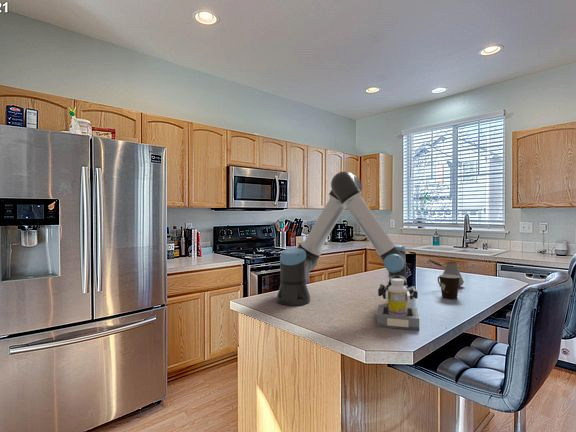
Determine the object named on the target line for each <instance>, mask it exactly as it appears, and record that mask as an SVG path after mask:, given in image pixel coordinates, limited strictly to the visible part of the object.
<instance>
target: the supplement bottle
mask: <svg viewBox="0 0 576 432" xmlns="http://www.w3.org/2000/svg"><path fill="white" fill-rule="evenodd" d="M387 304H388V312H389V314H390V315H401V316H406V315H407V307H408V302H407V288H406V287H405V286H404V279H399V278H393V279H391V286H389V288H388V302H387Z"/></svg>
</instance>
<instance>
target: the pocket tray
mask: <svg viewBox="0 0 576 432" xmlns="http://www.w3.org/2000/svg"><path fill="white" fill-rule="evenodd" d="M376 327H379V328H391V329H401V330H410V331H411V330H413V331H420V315H419V310H418V307H413V306H407V315H406V316H401V315H390V314H389V312H388V305H386V304H378V307H377V312H376Z"/></svg>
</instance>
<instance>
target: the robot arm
mask: <svg viewBox="0 0 576 432" xmlns="http://www.w3.org/2000/svg"><path fill="white" fill-rule="evenodd" d="M330 188H331V189H330V192H329V193H328V197H329V199H328V201H327V203H326V204H325V206H324V207H323V209H322V211H321V212H320V215H319V216H318V218H317V220H316V221H315V223H314V224H313V226H312V228H311V229H310V231H309V233H308V234H307V236H306V239H305V240H301V241H300V242H299V244H298V245H297V247H293V248H286V249H284V250H282V251H281V252H280V255H279V256H280V257H279V262H280V263H279V266H280V267H279V269H280V271H279V272H280V275H279V276H280V286H279V288H278V292H277V295H276V302H277V303H278V304H280V305H283V306H303V305H306V304H309V303H310V302H311V296H310V292H309V289H308V286H307V273H309V272H312V271H313V270H314V269H315V267H317V265H318V260H319V258H320V257H321V255H322V252H321V249H322V247H323V246H324V244H325V243H326V240H327V239H328V238H329V236H330V234H331V233H332V231H333V229H334V228H335V226H336V224H337V222H338V221H339V219H340V218H341V216H342V214H343V213H344V211H345V209H346V208H347V210H348V212H349V213H350V214H351V215H352V217H353V219H354V220H355V222H356V223H357V225H358V227H359V228H360V229H361V231H362V232H363V233H364V235H365V237H366V238H367V240H368V241H369V242H370V244H371V245H372V247H373V248H374V250H375V251H376V253H377V254H378V256H379V258H380V259H381V261H382V263H383V265H384V268H385V269H386V271H388V281H387V283H388V284H387V285H385V284H382V283H380V284H379V288H378V289H377V294H378V295H377V296H378V297H382V298H383V300H385V303H388V288H389V286H391V279H393V278H399V279H404V286H405V287H406V288H407V304H410V303H411V300H413V299H418V298H419V297H418V296H419V295H418V290H417V288H416V286H415V285H413V286H410V287H409V285H408V282H407V268H406V267H407V265H406V264H407V263H406V262H407V261H406V260H407V259H406V257H407V256H406V253H407V252H406V246H404V245H403V244H402V245H401V244H394V242H393V241H392V240H391V238H390V236H389V235H388V233H387V232H386V231H385V229H384V228H383V227H382V225H381V223H380V222H379V221H378V219H377V217H376V215H375V214H374V213H373V211H372V210H371V208H370V207H369V206H368V204H367V202H366V201H365V200H364V198H363V197H362V194H363V192H362V189H363V185H362V181H361V179H360V178H359V177H358V176H357V175H355V174H353V173H352V172H349V171H340V172H338V173H336V174H335V175H334V176H333V177H332V179H331V181H330Z"/></svg>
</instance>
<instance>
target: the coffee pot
mask: <svg viewBox="0 0 576 432" xmlns="http://www.w3.org/2000/svg"><path fill="white" fill-rule="evenodd" d="M431 263H432V264H434V265H436V266H439V267H442V268H443V272H442V275H456V276H459V277H460V279H459V287H458V288H460V287H462V286H463V284H464V282H465V281H464V279H463V276H462V273H461V272H460V270H459V268H458V264H459V262H458V261H445V262H444V263H445V265H446V266H445V265H443V264H440V263H438V262H437V261H434V260H431V259H429V260H427V264H428V265H429V264H431Z"/></svg>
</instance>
